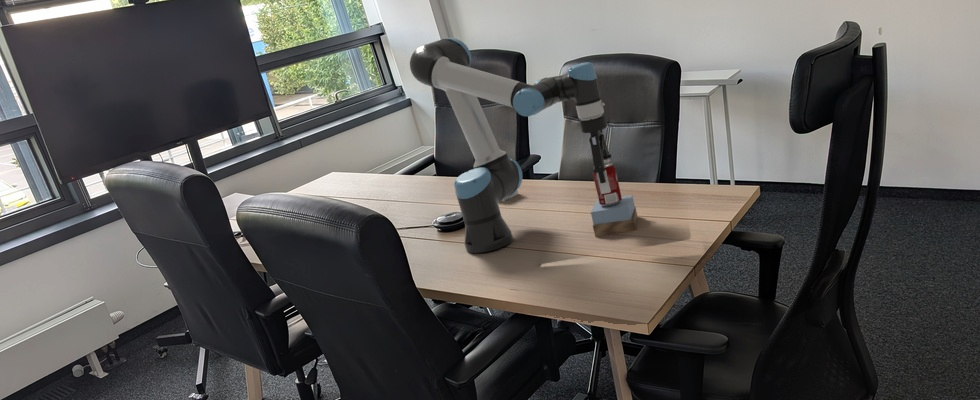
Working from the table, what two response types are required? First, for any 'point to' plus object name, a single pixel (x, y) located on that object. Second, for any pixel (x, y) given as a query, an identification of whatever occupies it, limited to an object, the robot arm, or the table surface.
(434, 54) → the robot arm
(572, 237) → the table surface
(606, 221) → the top block
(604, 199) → the soda can
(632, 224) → the base block
